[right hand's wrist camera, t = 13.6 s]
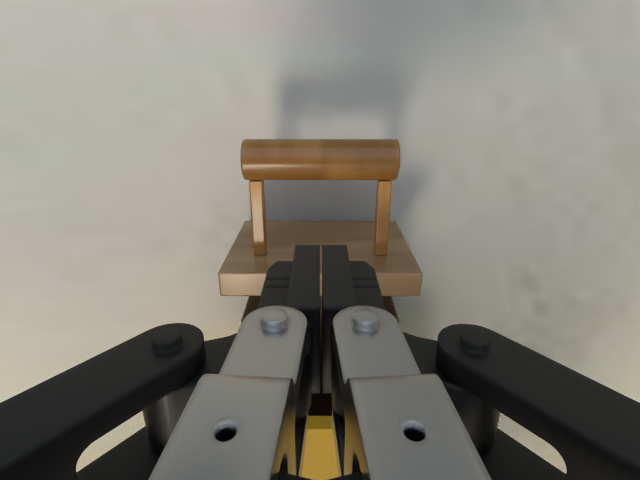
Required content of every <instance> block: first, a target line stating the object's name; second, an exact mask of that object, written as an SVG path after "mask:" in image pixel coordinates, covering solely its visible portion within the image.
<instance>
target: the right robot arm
mask: <svg viewBox="0 0 640 480" xmlns="http://www.w3.org/2000/svg"><path fill="white" fill-rule="evenodd" d="M322 362H323V393H332V428H333V436H334V444H335V452H336V459H337V467H338V475H339V477H336V478H332V479H328V480H640V403H638V402H636V401H634V400H632V399H630V398H628V397H626V396H624V395H622V394H620V393H618V392H616V391H614V390H612V389H610V388H608V387H606V386H604V385H602V384H600V383H598V382H596V381H594V380H592V379H590V378H588V377H586V376H584V375H582V374H580V373H578V372H575V371H573V370H571V369H569V368H567V367H565V366H563V365H561V364H559V363H557V362H555V361H553V360H551V359H549V358H547V357H545V356H543V355H541V354H539V353H537V352H535V351H533V350H531V349H529V348H527V347H525V346H523V345H521V344H519V343H517V342H514V341H512V340H510V339H508V338H506V337H504V336H502V335H500V334H498V333H496V332H494V331H492V330H490V329H487V328H484V327H481V326H477V325H471V324H456V325H451V326H448V327H446V328H444V329H443V330H441V332H440V333H439V335H438V341H435V340H430V339H425V338H420V337H416V336H413V335H410V334H407V333H405V332H403V331H402V330H401V328H400V326H399V324H398V321H397V320H396V318H395V317H394V316H393V315H392V314H391V313H389V312H387V311H386V308H385V304H384V301H383V297H382V294H381V290H380V288H379V283H378V280H377V276H376V272H375V269H374V268H373V267H372V266H370V265H369V264H368V263H367V262H366V261H349V256H348V249H347V245H322ZM311 393H320V245H295V251H294V258H293V261H277V262H275V263H274V264H273V265H272V266H271V267H269V268H268V270H267V274H266V277H265V281H264V285H263V288H262V292H261V296H260V299H259V303H258V307H257V310H255V311H253V312H251V313H249V314H248V315H247V316H246V317H245V318H244V320H243V321H242V324H241V326H240V328H239V330H238V333H236V334H234V335H231V336H228V337H224V338H219V339H214V340H209V341H204V336H203V333H202V331H201V330H200V329H199V328H197V327H195V326H193V325H190V324H184V323H173V324H166V325H162V326H158V327H155V328H152V329H150V330H148V331H146V332H144V333H142V334H140V335H138V336H136V337H134V338H132V339H130V340H128V341H126V342H123V343H121V344H119V345H117V346H115V347H113V348H111V349H109V350H107V351H105V352H103V353H101V354H99V355H97V356H95V357H93V358H91V359H89V360H87V361H85V362H83V363H81V364H79V365H77V366H75V367H73V368H71V369H69V370H67V371H65V372H63V373H60V374H58V375H56V376H54V377H52V378H50V379H48V380H46V381H44V382H42V383H40V384H38V385H36V386H34V387H32V388H30V389H28V390H26V391H24V392H22V393H20V394H18V395H16V396H14V397H12V398H10V399H8V400H6V401H4V402H2V403H0V480H312V479H308V478H304V477H301V475H302V467H303V459H304V452H305V444H306V436H307V428H308V411H309V409H310V406H311ZM142 410H143V415H144V420H145V425H146V426H145V427H144V428H142V429H141V430H139V431H138V432H136V433H135V434H133V435H132V436H130V437H129V438H127V439H126V440H124V441H123V442H121V443H120V444H118V445H117V446H115V447H114V448H113V449H111V450H110V451H108V452H107V453H105V454H104V455H102V456H101V457H99V458H98V459H96V460H95V461H93V462H92V463H90V464H89V465H87V466H86V467H84V468H83V469H81V470H80V471H78V472H77V473H76V464H77V461H78V459H79V457H80V455H81V454H82V452H83V451H84V450H85V449H86V448H87V447H88V446H89V445H90V444H91V443H92V442H94V441H95V440H97V439H98V438H100V437H101V436H103V435H105V434H106V433H108V432H109V431H111V430H112V429H114V428H116V427H117V426H119V425H120V424H122V423H123V422H125V421H127V420H128V419H130V418H131V417H133V416H134V415H136V414H137V413H139V412H141V411H142ZM500 412H501V413H503V414H504V415H506V416H507V417H509V418H510V419H512V420H514V421H515V422H517V423H518V424H520V425H521V426H523V427H524V428H526V429H528V430H529V431H531V432H532V433H534V434H535V435H537V436H539V437H540V438H542V439H543V440H545V441H546V442H548V443H549V444H551V445H552V446H553V447H554V448H555V449H556V450H557V451H558V452H559V453H560V455H561V456H562V458H563V459H564V461H565V464H566V467H567V474H565V473H563V472H562V471H560V470H559V469H557V468H556V467H554V466H553V465H551V464H550V463H548V462H547V461H545V460H544V459H542V458H541V457H539V456H538V455H536V454H535V453H533V452H532V451H530V450H529V449H528V448H526V447H525V446H523V445H522V444H520V443H519V442H517V441H516V440H514V439H513V438H511V437H510V436H508V435H507V434H505V433H504V432H502V431H501V430H499V429H498V428H497V426H498V421H499V416H500Z"/></svg>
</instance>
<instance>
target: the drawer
mask: <svg viewBox="0 0 640 480" xmlns="http://www.w3.org/2000/svg"><path fill="white" fill-rule="evenodd" d="M399 168H400V146H399V142H398V140H396V139H245V140H243V142H242V145H241V169H242V174H243V177H244V179H246V180H250V181H249V188H250V203H251V219H252V221H245V223H244V224H243V226H242V228H241V230H240V232H239V234H238V236H237V238H236V240H235V242H234V244H233V246H232V248H231V250H230V251H229V253H228V255H227V257H226V259H225V261H224V263H223V265H222V267H221V269H220V271H219V273H218V277H219V286H220V295H221V296H249V298H248V302H247V305H246V308H245V311H244V314H243V317H242V320H241V322H242V321H243V320H244V318H245V317H246V316H247V315H248V314H249V313H251V312H253V311H255V310H257V307H258V303H259V299H260V296H261V292H262V288H263V285H264V281H265V277H266V274H267V270H268V268H269V267H271V266H272V265H273V264H274V263H275V262H277V261H293V258H294V251H295V245H320V393H311V406H310V409H309V411H308V416H332V393H323V362H322V245H347V249H348V256H349V261H366V262H367V263H368V264H369V265H370V266H372V267H373V268H374V269H375V272H376V276H377V280H378V283H379V288H380V290H381V294H382V297H383V301H384V304H385V308H386V311H387V312H389V313H391V314H392V315H393V316H394V317H395V318H396V320H397V321H398V324H399V319H398V316H397V313H396V310H395V307H394V304H393V300H392V297H391V296H420V292H421V283H422V272H421V270H420V268H419V266H418V264H417V262H416V260H415V258H414V256H413V254H412V252H411V251H410V249H409V247H408V245H407V243H406V241H405V239H404V237H403V235H402V233H401V231H400V229H399V227H398V225H397V223H396V222H395V221H389V216H390V201H391V186H392V181H391V180H396V179H397V177H398V174H399ZM264 180H377V193H376V211H375V221H266V218H265V198H264Z"/></svg>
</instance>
